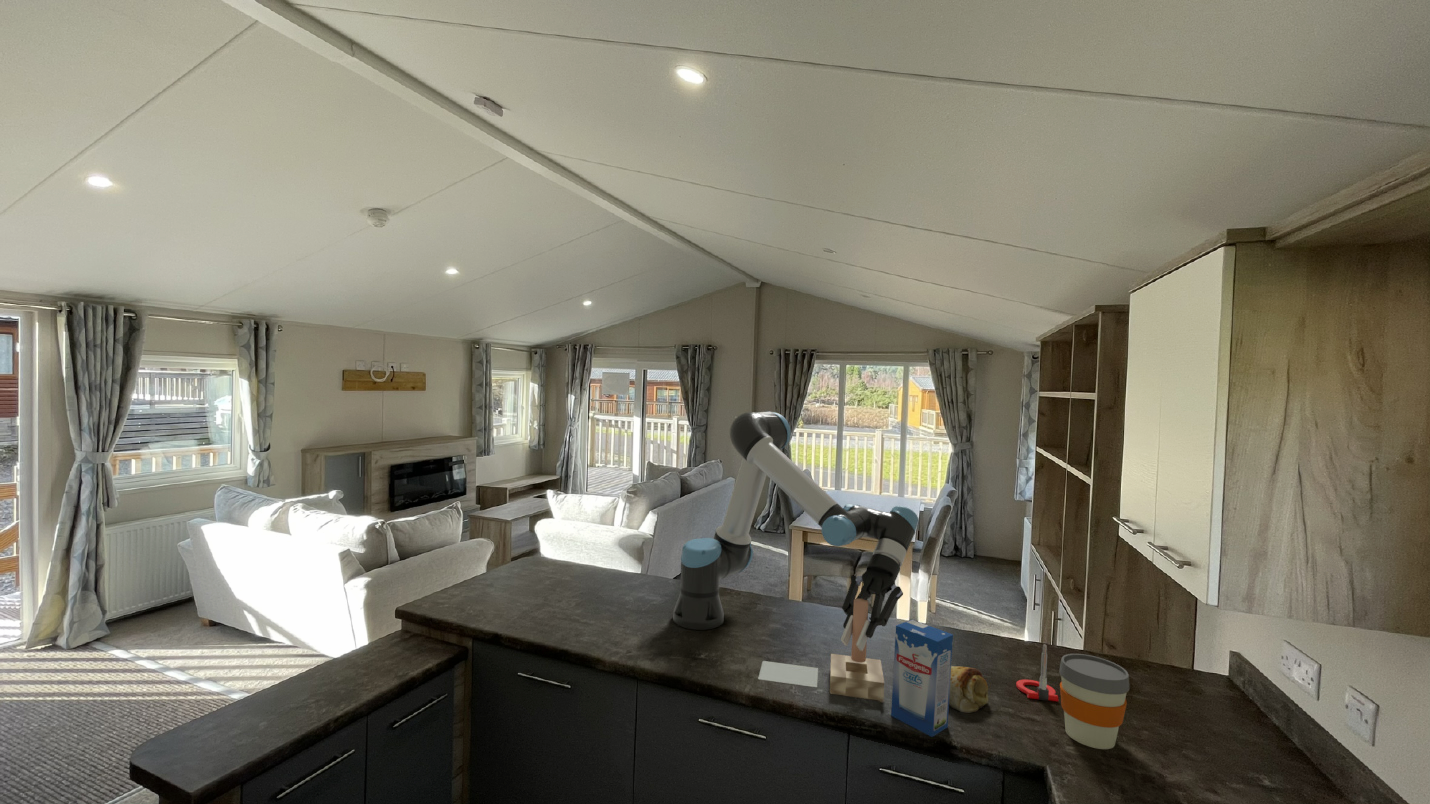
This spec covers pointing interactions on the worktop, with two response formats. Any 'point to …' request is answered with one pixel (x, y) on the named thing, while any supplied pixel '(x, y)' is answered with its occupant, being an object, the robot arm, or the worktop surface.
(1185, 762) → the worktop surface
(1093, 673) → the reusable coffee cup
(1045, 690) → the tow hook
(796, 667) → the mat
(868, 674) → the hole block
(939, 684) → the milk carton
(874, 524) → the robot arm
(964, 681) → the pastry
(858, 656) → the peg
